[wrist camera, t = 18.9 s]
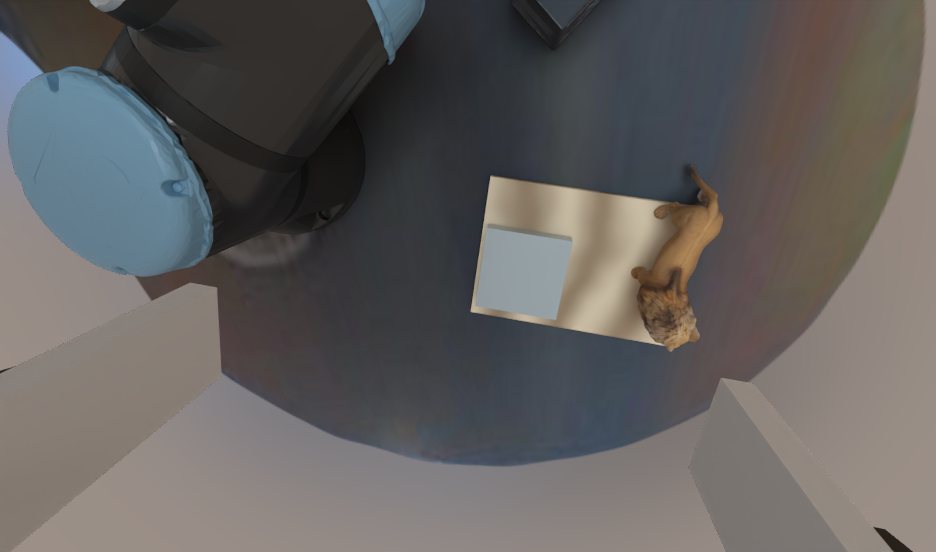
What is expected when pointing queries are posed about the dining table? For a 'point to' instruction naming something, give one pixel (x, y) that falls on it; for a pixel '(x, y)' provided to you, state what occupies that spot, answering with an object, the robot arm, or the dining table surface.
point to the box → (554, 17)
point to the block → (523, 271)
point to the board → (585, 250)
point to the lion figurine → (677, 268)
